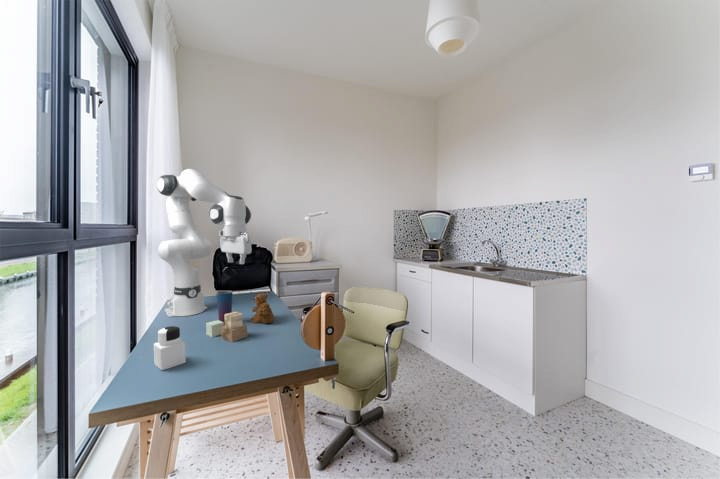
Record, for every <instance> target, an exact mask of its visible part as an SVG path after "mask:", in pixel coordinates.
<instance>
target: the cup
mask: <svg viewBox="0 0 720 479" xmlns="http://www.w3.org/2000/svg"><path fill="white" fill-rule="evenodd" d="M215 294H216V302H217V314H218V320H219V321H221V322H224V326H225V315H224V314H228V313H232V311H233V310H232V309H233V291H232V290H220V291H217V292H216V293H215Z"/></svg>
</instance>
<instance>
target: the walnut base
mask: <svg viewBox="0 0 720 479" xmlns="http://www.w3.org/2000/svg"><path fill="white" fill-rule="evenodd" d="M245 338H248V325H247V324H245V323H244V324H243V326H240V327H237V328H233V329H229V328H227V327H225V326H223V327H221V335H220V339H221V340H223V341H224V340H225V341H227V342H230V343H235V342H236V341H237V342H238V340H239V341H240V340H242V339H245Z"/></svg>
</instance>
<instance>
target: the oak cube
mask: <svg viewBox="0 0 720 479" xmlns="http://www.w3.org/2000/svg"><path fill="white" fill-rule="evenodd" d="M224 315H225V327H227V328H229V329H233V328H237V327H240V326H243V318H244V317H243V313H241V312H239V311H233V312H232V313H228V314H224Z"/></svg>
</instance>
